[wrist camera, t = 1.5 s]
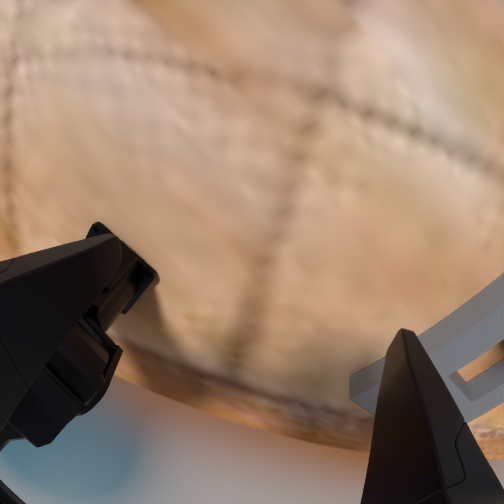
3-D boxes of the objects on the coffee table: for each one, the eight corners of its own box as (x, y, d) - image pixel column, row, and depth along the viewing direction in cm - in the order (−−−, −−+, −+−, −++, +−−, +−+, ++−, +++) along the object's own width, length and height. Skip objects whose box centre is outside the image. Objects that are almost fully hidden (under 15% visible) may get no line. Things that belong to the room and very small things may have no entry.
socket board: (418, 426, 28) (420, 445, 26) (350, 376, 26) (349, 398, 24) (550, 344, 20) (559, 362, 18) (518, 260, 17) (532, 279, 15)
